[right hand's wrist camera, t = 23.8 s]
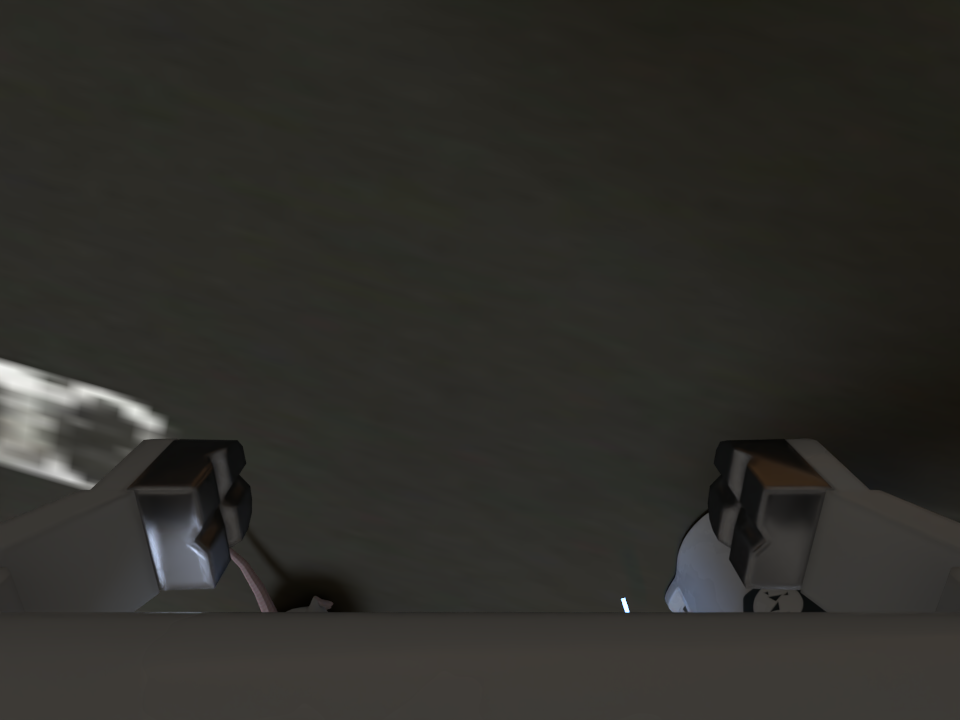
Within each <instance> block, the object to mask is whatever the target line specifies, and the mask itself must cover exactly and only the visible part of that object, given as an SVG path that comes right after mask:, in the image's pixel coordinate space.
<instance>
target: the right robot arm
mask: <svg viewBox="0 0 960 720" xmlns="http://www.w3.org/2000/svg"><path fill="white" fill-rule="evenodd" d="M245 465H246V460H245V455H244V450H243V446H242V445H241V444H240V443H239V442H238V440H198V439H179V440H178V439H149V440H143V441H142V442H141V443H140V444H139V445H138V446H137V447H136V448H135V449H134V450H133V451H132V452H130V453H129V454H128V455H127V456H126V457H125V458H124V459H123V460H122V461H121V462H120V463H119V464H118V465H117V466H115V467H114V468H113V469H112V470H111V471H110V472H109V473H108V474H107V475H106V476H105V477H104V478H103V479H101V480H100V481H99V482H98V483H97V484H96V485H95V486H94V487H93V488H92V489H91V490H80V491H77V492H75V493H72V494H70V495H67V496H65V497H62V498H60V499H58V500H55V501H53V502H50V503H48V504H45V505H43V506H40V507H38V508H36V509H33V510H31V511H28V512H26V513H23V514H21V515H18V516H16V517H14V518H11V519H9V520H6V521H4V522H1V523H0V720H960V523H958V522H956V521H954V520H951V519H949V518H946V517H944V516H941V515H939V514H937V513H934V512H932V511H929V510H927V509H924V508H922V507H919V506H917V505H915V504H912V503H910V502H907V501H905V500H902V499H900V498H898V497H895V496H893V495H890V494H888V493H885V492H883V491H881V490H869V489H868V488H867V487H866V486H865V485H864V484H863V483H862V482H861V481H860V480H859V479H858V478H856V477H855V476H854V475H853V474H852V473H851V472H850V471H849V470H848V469H847V468H846V467H845V466H844V465H843V464H841V463H840V462H839V461H838V460H837V459H836V458H835V457H834V456H833V455H832V454H831V453H830V452H829V451H828V450H826V449H825V448H824V447H823V446H822V445H821V444H820V443H819V442H818V441H816V440H813V439H810V438H807V439H768V440H727V441H721V442H720V443H719V445H718V447H717V450H716V454H715V459H714V465H715V466H716V468H717V469H718V471H719V472H720V474H721V475H720V476H719V477H718V478H717V479H716V480H715V481H714V482H713V483H712V484H711V485H710V489H709V497H708V512H709V513H707V514H706V515H705V516H703V517H702V518H701V519H700V520H699V521H698V522H697V523H696V524H695V525H694V526H693V527H692V528H691V529H690V531H689V532H688V533H687V535H686V537H685V538H684V540H683V542H682V544H681V547H680V550H679V553H678V558H677V569H676V575H675V578H674V580H673V581H672V583H671V585H670V586H669V588H668V590H667V592H666V594H665V601H666V603H667V605H668V607H669V609H670V610H671V611H672V612H629V610H628V607H627V604H626V600H625V598H623V599H622V602H623V606H624V609H625V612H134V611H136V610H137V609H138V608H140V607H141V606H142V605H144V604H145V603H146V602H148V601H149V600H150V599H152V598H153V597H154V596H156V595H157V594H158V593H159V590H177V589H213V588H215V586H216V585H217V583H218V581H219V580H220V578H221V576H222V574H223V573H224V571H225V569H226V567H227V566H228V564H229V562H230V561H231V555H230V550H229V548H231V547H233V546H234V545H236V544H237V543H239V542H241V541H242V539H243V537H244V536H245V534H246V532H247V530H248V527H249V523H250V518H251V514H252V496H251V489H250V485H249V484H248V483H247V482H246V481H245V480H244V479H243V478H242V477H241V476H240V475H239V474H240V472H241V471H242V469H243V468H244V466H245ZM685 606H686V607H685Z"/></svg>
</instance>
